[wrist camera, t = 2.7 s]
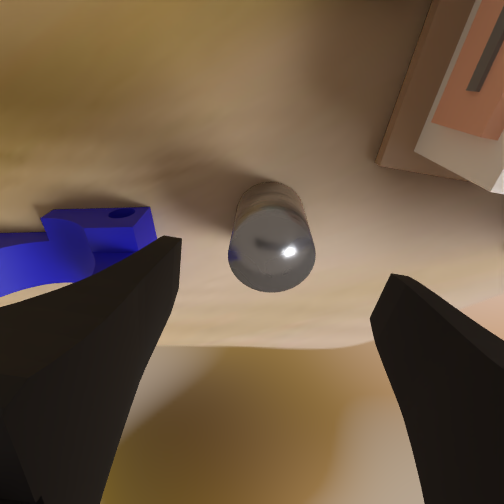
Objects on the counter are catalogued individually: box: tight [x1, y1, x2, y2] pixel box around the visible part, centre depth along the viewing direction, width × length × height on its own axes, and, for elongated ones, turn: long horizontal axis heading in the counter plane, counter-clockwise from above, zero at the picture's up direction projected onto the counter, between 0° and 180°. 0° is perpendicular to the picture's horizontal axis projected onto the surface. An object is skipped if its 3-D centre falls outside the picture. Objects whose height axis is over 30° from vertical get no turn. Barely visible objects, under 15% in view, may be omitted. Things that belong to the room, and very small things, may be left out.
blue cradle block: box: [0, 207, 157, 297], centre depth 18 cm, size 12×4×6 cm, turn 92°
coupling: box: [228, 182, 315, 292], centre depth 17 cm, size 4×4×5 cm
